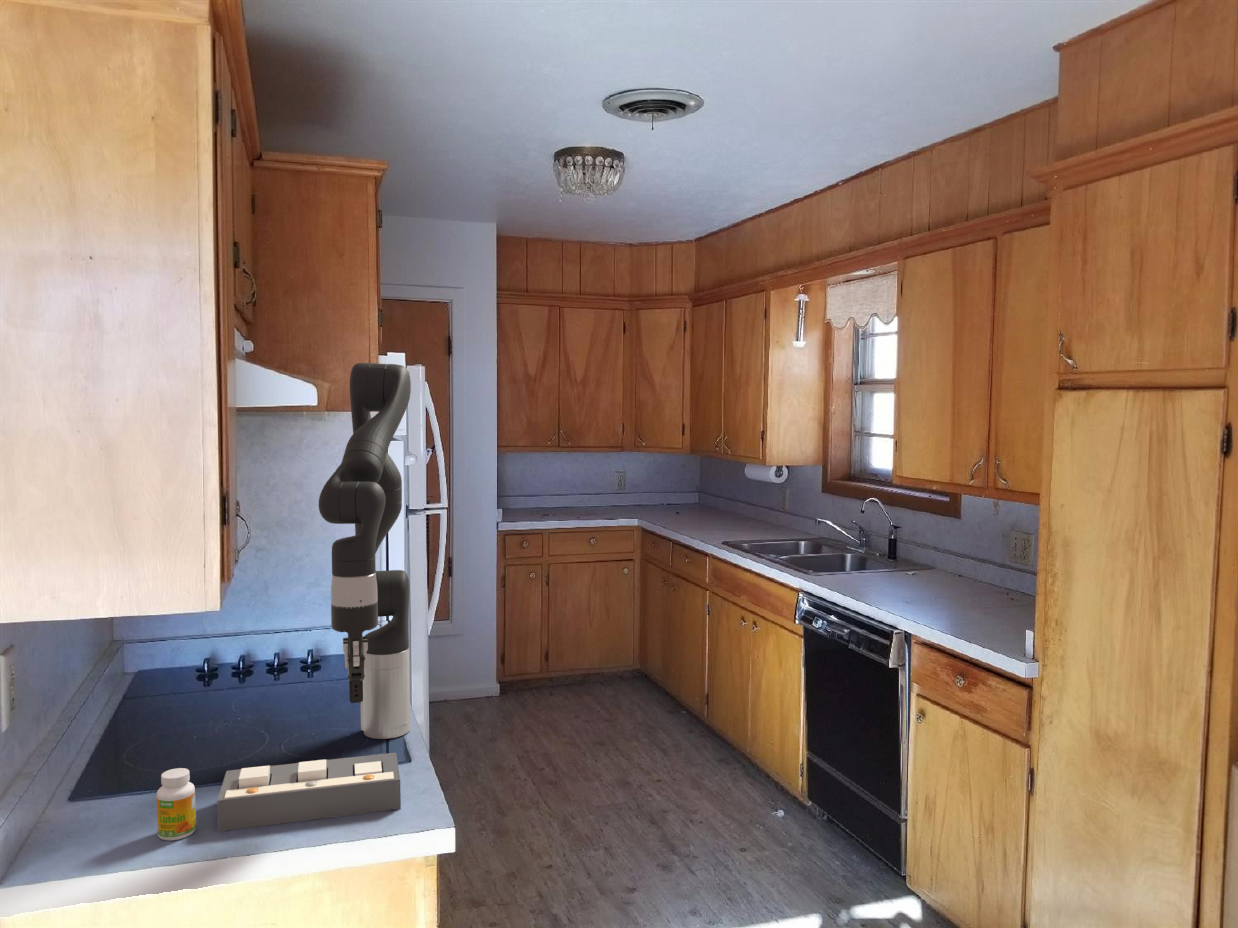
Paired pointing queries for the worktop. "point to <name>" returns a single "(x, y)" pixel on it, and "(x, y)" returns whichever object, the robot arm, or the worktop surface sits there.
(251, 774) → the near key
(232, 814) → the button board
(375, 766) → the far key
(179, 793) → the supplement bottle
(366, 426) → the robot arm
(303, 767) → the middle key
